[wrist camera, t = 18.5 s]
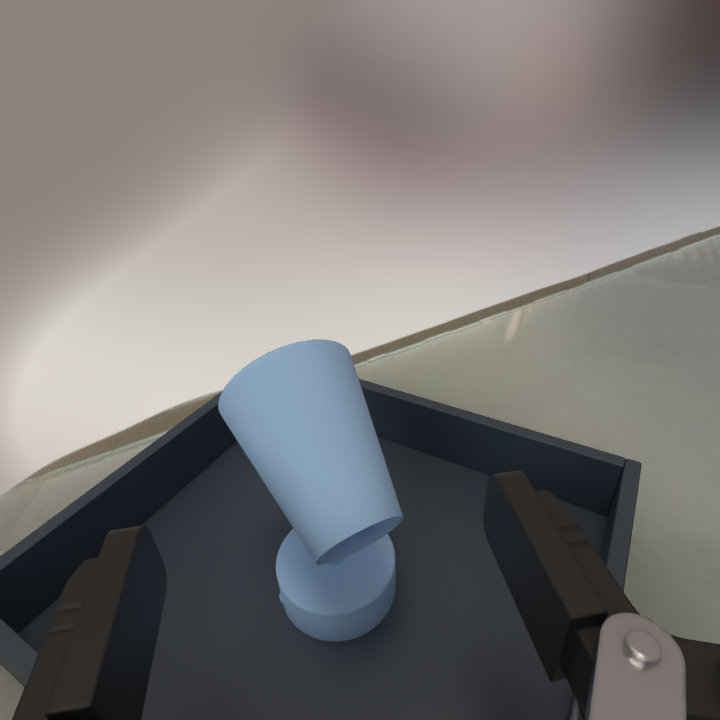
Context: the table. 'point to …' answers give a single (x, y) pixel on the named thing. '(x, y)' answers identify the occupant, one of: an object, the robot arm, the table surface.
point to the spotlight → (320, 484)
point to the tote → (261, 590)
